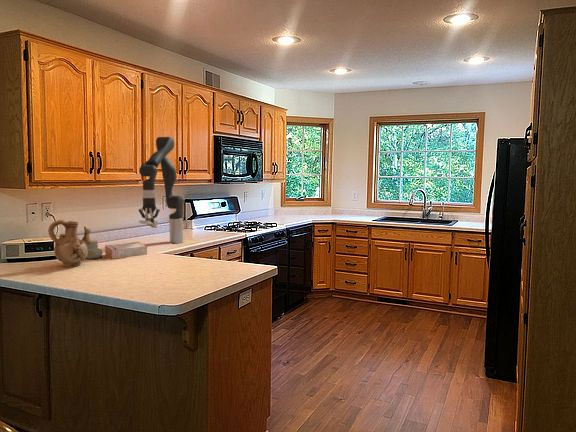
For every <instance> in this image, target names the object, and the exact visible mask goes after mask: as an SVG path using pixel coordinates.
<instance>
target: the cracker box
mask: <svg viewBox="0 0 576 432" xmlns="http://www.w3.org/2000/svg"><path fill="white" fill-rule="evenodd" d="M147 248H148V247H147V245H146V244H144V243H141V242H139V241H134V242H133V241H132V242H124V243H122V242H121V243H112V244H105V245H104V254H105V256H106V255H107V256H108V257H109V258H111V260H114V259H115V260H116V259H125V258H128V257H134V256H135V257H136V256H144V255H145V256H146V255H147V254H148V249H147Z"/></svg>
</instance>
